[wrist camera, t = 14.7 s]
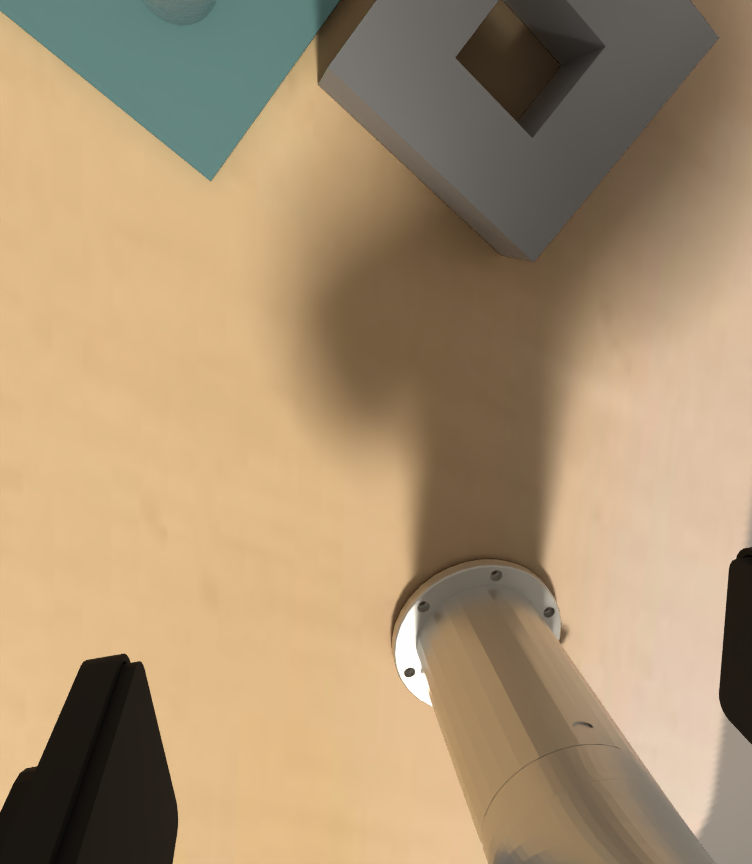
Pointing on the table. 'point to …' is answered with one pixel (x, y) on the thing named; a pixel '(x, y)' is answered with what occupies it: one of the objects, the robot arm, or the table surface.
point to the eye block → (492, 125)
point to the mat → (180, 62)
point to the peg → (180, 10)
